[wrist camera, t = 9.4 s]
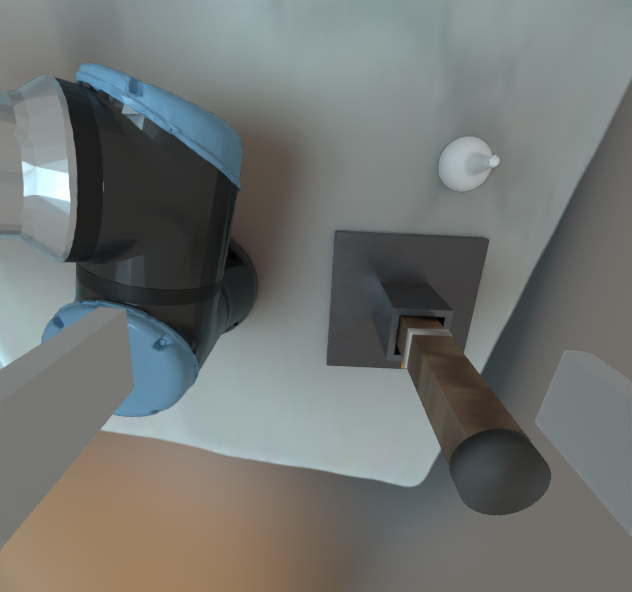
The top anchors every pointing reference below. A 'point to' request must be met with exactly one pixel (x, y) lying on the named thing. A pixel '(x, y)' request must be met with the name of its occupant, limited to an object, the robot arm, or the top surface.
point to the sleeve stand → (398, 291)
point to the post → (471, 423)
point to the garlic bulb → (466, 163)
